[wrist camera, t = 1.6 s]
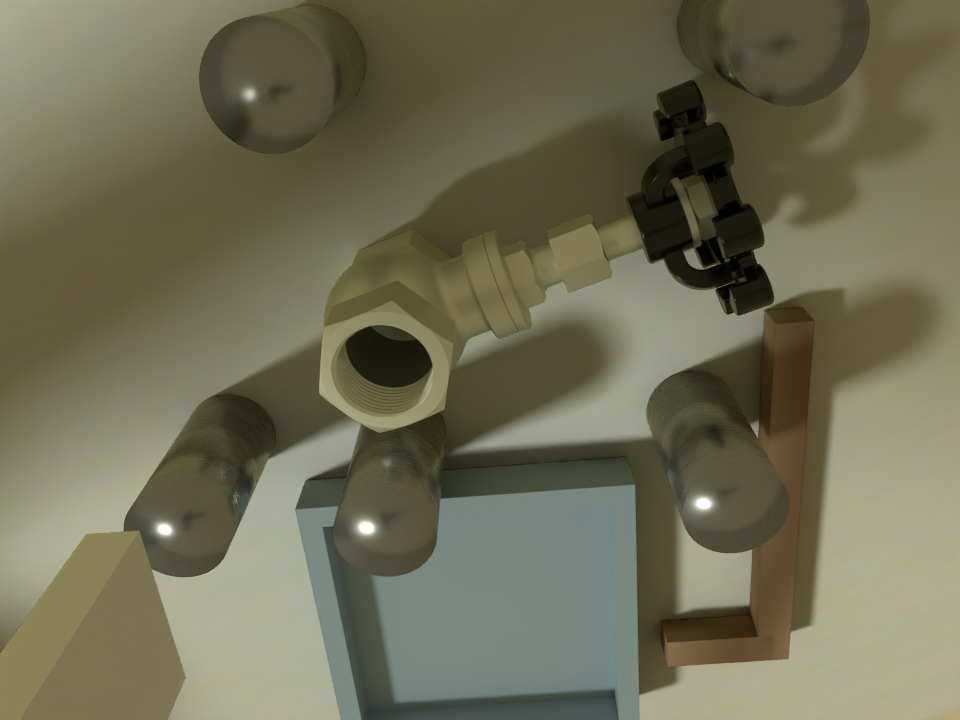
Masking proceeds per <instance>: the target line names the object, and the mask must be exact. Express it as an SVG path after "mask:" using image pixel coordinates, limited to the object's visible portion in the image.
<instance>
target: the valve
mask: <svg viewBox="0 0 960 720" xmlns="http://www.w3.org/2000/svg"><path fill="white" fill-rule="evenodd" d="M657 103H658V107H659V109H658V110H656V111H654V112H653V119H654V123H655V127H656V130H657V133H658V135H659V138H660V140H661V141H664V140H667V139H669V138H672V137H674V143H675V148H674V149H672V150H670V151H668V152H666V153H664V154H663V155H661V156H660V157H658V158H657V159H656V160H655V161H654V162H653V163H652V164H651V165H650V166H649V167H648V169H647V170H646V172H645V174H644V176H643V179H642V182H641V191H640V192H638V193H635V194H633V195H630V196H628V197H627V198H626V202H627V206H628V210H629V213H630V215H628V216H626V217H623V218H620V219H618V220H615V221H613V222H610V223H607V224H605V225H602V226H600V227H597V228H596V226H595V223H594V221H593V218H592V216H590V215H588V214H587V215H585V216H582V217H580V218H577V219H574V220H572V221H569V222H567V223H564V224H562V225H559V226H556V227H554V228H551V229H549V230H546V231H547V236H548V240H549V243H547V244H545V245H542V246H540V247H537V248H534V249H532V248H529V247H528V246H527V244H526V243H525V242H524V241H523V240H520V241H518V242H515V243H513V244H510V245H508V246H505V245H504V242H503V241H502V239H501V237H500V235H499V234H498V232H497V231H496V230H492V231H489V232H486V233H484V234H481V235H479V236H476V237H474V238H471V239H469V240H466V241H464V242H463V244H462V253H463V254H462V255H460V256H457V257H455V258H451V257H450V256H448V255H447V254H446V253H444V252H443V251H442V250H440V249H439V248H437V247H436V246H435V245H433V244H432V243H431V242H429V241H428V240H427V239H425V238H424V237H423V236H421V235H420V234H419V233H417V232H416V231H414V230H410V231H407V232H404V233H402V234H399V235H397V236H394V237H392V238H389V239H387V240H384V241H382V242H379V243H377V244H374V245H372V246H369V247H367V248H364V249H362V250H360V251H358V253H357V255H356V257H355V259H354V261H353V264H352V266H350V267H349V268H348V269H347V270H346V271H345V272H344V273H343V274H342V275H341V277H340V278H339V279H338V280H337V282H336V284H335V285H334V287H333V288H332V290H331V293H330V295H329V297H328V300H327V304H326V308H325V314H324V328H323V337H322V348H321V361H320V381H319V394H320V395H321V396H323V397H324V398H325V399H326V400H327V401H329V402H330V403H331V404H332V405H334V406H335V407H336V408H338V409H339V410H341V411H342V412H343V413H345V414H346V415H348V416H349V417H351V418H352V419H354V420H356V421H357V422H359V423H361V424H362V425H364V426H366V427H368V428H370V429H372V430H374V431H376V432H378V433H381V432H385V431H389V430H393V429H397V428H400V427H403V426H406V425H409V424H412V423H415V422H417V421H420V420H422V419H425V418H427V417H429V416H432V415H434V414H436V413H438V412H440V411H442V410H444V409H445V402H446V395H447V388H448V381H449V373H450V372H451V370H452V369H453V368H454V367H455V365H456V364H457V362H458V361H459V359H460V357H461V355H462V353H463V350H464V348H465V345H466V343H467V341H468V340H469V339H470V338H471V337H474V336H476V335H479V334H482V333H484V332H487V331H490V330H492V332H493V333H494V334H495V336H496V337H497V338H500V339H501V338H504V337H507V336H509V335H512V334H515V333H518V332H520V331H523V330H526V329H529V328H530V327H531V325H532V321H531V316H530V312H529V308H530V307H533V306H535V305H538V304H541V303H543V302H545V299H546V294H545V291H546V289H547V288H548V287H550V286H552V285H555V284H557V283H560V282H563V281H564V283H565V285H566V287H567V290H568V292H569V293H570V292H573V291H576V290H578V289H581V288H584V287H586V286H589V285H592V284H594V283H597V282H600V281H602V280H605V279H608V278H610V277H611V275H612V270H611V267H610V264H609V261H610V260H613V259H615V258H618V257H621V256H623V255H626V254H629V253H631V252H634V251H637V250H639V249H643V251H644V254H645V256H646V258H647V260H648V262H649V263H651V264H653V263H655V262H658V261H661V260H664V263H665V265H666V267H667V269H668V271H669V273H670V274H671V275H672V277H673V278H674V279H675V280H676V281H677V282H679V283H680V284H682V285H684V286H686V287H688V288H691V289H696V290H710V289H714V288H717V287H720V286H722V287H720V288H717V289H716V290H715V291H716V294H717V297H718V299H719V302H720V304H721V306H722V308H723V310H724V312H725V313H726V314H727V315H729V314H732V313H734V312H735V314H736V315H738V316H739V315H742V314H745V313H748V312H751V311H754V310H756V309H759V308H762V307H765V306H768V305H770V304H772V303H773V302H774V294H773V290H772V286H771V283H770V281H769V278H768V276H767V274H766V272H765V270H764V268H763V267H762V266H761V265H760V264H757V262H756V259H755V256H754V252H753V250H755V249H757V248H760V247H762V246H763V245H764V233H763V229H762V226H761V223H760V221H759V218H758V216H757V214H756V212H755V210H754V208H753V207H752V206H751V205H750V204H744V205H743V203H742V202H741V200H740V197H739V195H738V192H737V189H736V187H735V184H734V181H733V178H732V175H731V171H730V167H731V166H732V165H733V164H734V161H735V158H734V152H733V148H732V144H731V141H730V138H729V136H728V133H727V131H726V129H725V128H724V126H723V125H722V124H721V123H720V122H716V123H713V124H711V125H708V126H707V125H706V122H705V120H706V118H707V113H706V108H705V104H704V100H703V97H702V95H701V92H700V90H699V88H698V86H697V84H696V83H695V82H694V81H693V80H689V81H687V82H684V83H682V84H680V85H677V86H675V87H672V88H670V89H667V90H665V91H662V92H660V93H658V94H657ZM693 248H694V250H695V253H696V256H697V258H698V260H699V262H700V264H701V266H702V267H703V268H707V267H710V266H712V265H715V264H716V266H713V267H710V268H708V269H704V270H699V269H695V268H693V267H691V266H690V265H689V264H688V262H687V260H686V258H685V255H684V253H683V252H685V251H688V250H690V249H693ZM728 283H730V284H728ZM726 284H728V285H726ZM723 285H725V286H723Z"/></svg>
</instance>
